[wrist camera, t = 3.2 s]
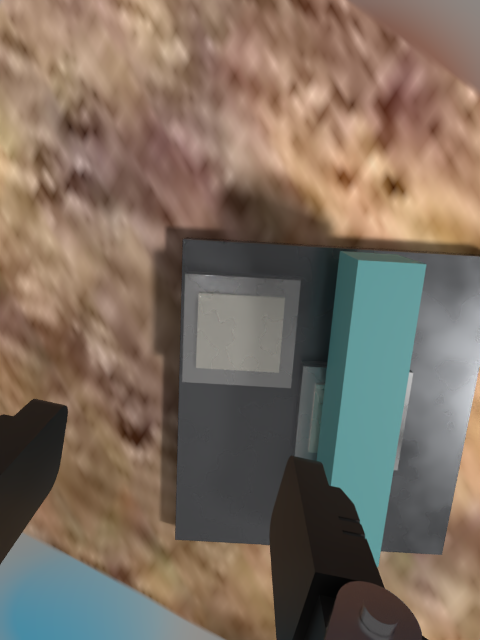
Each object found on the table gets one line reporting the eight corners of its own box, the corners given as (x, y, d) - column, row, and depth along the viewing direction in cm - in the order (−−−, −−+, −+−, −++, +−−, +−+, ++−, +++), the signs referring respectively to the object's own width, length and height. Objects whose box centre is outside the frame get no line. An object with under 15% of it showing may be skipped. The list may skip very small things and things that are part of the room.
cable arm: (356, 567, 29) (376, 631, 24) (300, 564, 29) (309, 627, 24) (402, 254, 24) (437, 265, 19) (334, 250, 24) (353, 260, 19)
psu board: (434, 541, 32) (450, 571, 29) (177, 527, 31) (172, 555, 29) (490, 255, 27) (515, 260, 24) (185, 237, 27) (179, 241, 24)
